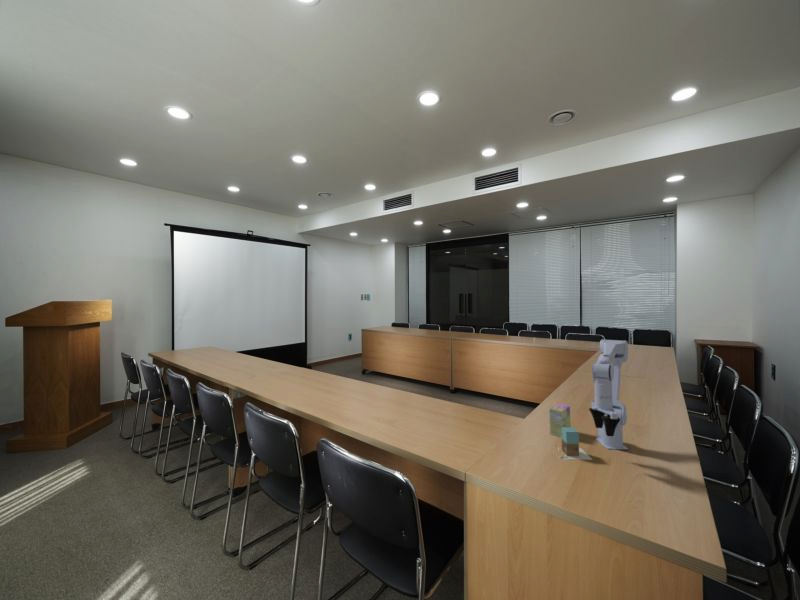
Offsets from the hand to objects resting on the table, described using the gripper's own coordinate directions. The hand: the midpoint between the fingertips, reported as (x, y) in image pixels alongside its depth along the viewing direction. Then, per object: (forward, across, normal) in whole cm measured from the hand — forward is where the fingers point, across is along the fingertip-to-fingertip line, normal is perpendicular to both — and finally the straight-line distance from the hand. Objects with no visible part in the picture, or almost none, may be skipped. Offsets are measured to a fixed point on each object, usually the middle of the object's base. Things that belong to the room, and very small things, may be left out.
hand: (604, 431), depth 122 cm
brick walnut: (+10, -4, -11) cm, 15 cm away
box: (+10, -24, -7) cm, 27 cm away
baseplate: (+10, -4, -11) cm, 16 cm away
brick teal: (+6, -4, -11) cm, 13 cm away
